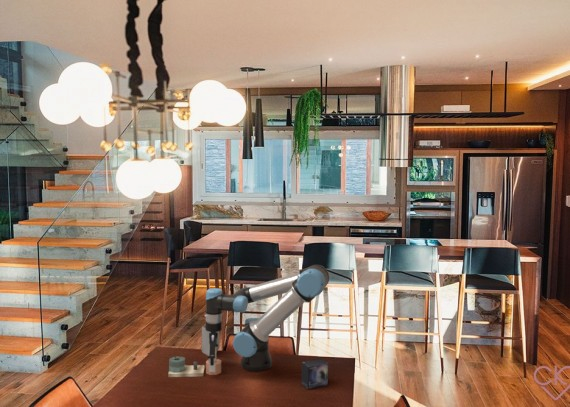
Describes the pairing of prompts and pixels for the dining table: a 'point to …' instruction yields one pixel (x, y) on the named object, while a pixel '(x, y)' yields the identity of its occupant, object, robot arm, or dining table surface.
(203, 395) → the dining table surface
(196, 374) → the gear board
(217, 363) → the loose gear
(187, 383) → the dining table surface
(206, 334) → the grey magazine holder
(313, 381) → the small box
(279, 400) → the dining table surface
